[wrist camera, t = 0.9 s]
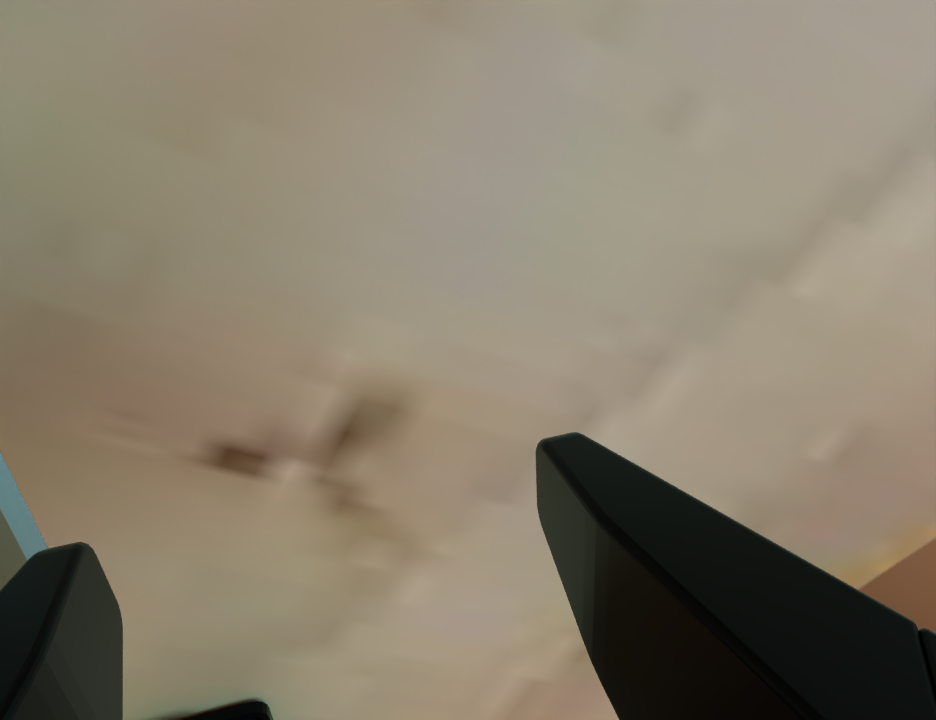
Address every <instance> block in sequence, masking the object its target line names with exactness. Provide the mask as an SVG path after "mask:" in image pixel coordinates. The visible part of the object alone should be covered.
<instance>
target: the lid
mask: <svg viewBox="0 0 936 720" xmlns="http://www.w3.org/2000/svg"><path fill="white" fill-rule="evenodd" d="M45 549H48V547H47V545H46V543H45V541H44V539H43V537H42V535H41V533H40V531H39V529H38V527H37V525H36V523H35V521H34V519H33V517H32V515H31V513H30V511H29V509H28V507H27V505H26V503H25V501H24V499H23V497H22V495H21V493H20V491H19V489H18V487H17V485H16V483H15V481H14V479H13V477H12V475H11V473H10V471H9V469H8V467H7V465H6V463H5V461H4V459H3V457H2V455H1V453H0V590H1V589H2V588H3V587H4V586H5V585H6V584H7V582H8V581H9V580H10V579H11V578H12V577H13V576H14V575H15V574H16V573H17V571H18V570H19V569H20V568H21V567H22V566H23V565H24V564H25V563H26V562H27V560H28V559H29V558H31V557H32V556H33V555H34V554H35V553H37V552H39V551H42V550H45Z"/></svg>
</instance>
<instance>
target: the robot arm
mask: <svg viewBox="0 0 936 720" xmlns="http://www.w3.org/2000/svg"><path fill="white" fill-rule="evenodd" d="M536 484H537V507H538V513H539V518H540V522H541V525H542V528H543V531H544V534H545V537H546V540H547V542H548V545H549V548H550V551H551V553H552V556H553V559H554V562H555V564H556V567H557V570H558V573H559V575H560V578H561V581H562V584H563V586H564V589H565V592H566V595H567V597H568V600H569V603H570V606H571V608H572V611H573V614H574V617H575V619H576V622H577V625H578V628H579V630H580V633H581V636H582V639H583V641H584V644H585V646H586V649H587V652H588V654H589V657H590V659H591V662H592V664H593V667H594V669H595V671H596V673H597V675H598V677H599V680H600V682H601V684H602V686H603V688H604V690H605V692H606V694H607V696H608V698H609V700H610V702H611V704H612V706H613V708H614V710H615V712H616V714H617V716H618V718H619V720H936V633H934V632H932V631H930V630H929V629H926V628H922V629H920V630H918V628H917V626H916V624H915V623H914V622H913V621H912V620H910V619H908V618H907V617H905V616H903V615H901V614H900V613H898V612H896V611H894V610H893V609H891V608H889V607H887V606H885V605H884V604H882V603H880V602H878V601H877V600H875V599H873V598H871V597H870V596H868V595H866V594H864V593H862V592H861V591H859V590H857V589H855V588H854V587H852V586H850V585H848V584H847V583H845V582H843V581H841V580H839V579H838V578H836V577H834V576H832V575H831V574H829V573H827V572H825V571H824V570H822V569H820V568H818V567H816V566H815V565H813V564H811V563H809V562H808V561H806V560H804V559H802V558H801V557H799V556H797V555H795V554H793V553H792V552H790V551H788V550H786V549H785V548H783V547H781V546H779V545H778V544H776V543H774V542H772V541H770V540H769V539H767V538H765V537H763V536H762V535H760V534H758V533H756V532H755V531H753V530H751V529H749V528H747V527H746V526H744V525H742V524H740V523H739V522H737V521H735V520H733V519H732V518H730V517H728V516H726V515H724V514H723V513H721V512H719V511H717V510H716V509H714V508H712V507H710V506H709V505H707V504H705V503H703V502H701V501H700V500H698V499H696V498H694V497H693V496H691V495H689V494H687V493H685V492H684V491H682V490H680V489H678V488H677V487H675V486H673V485H671V484H670V483H668V482H666V481H664V480H662V479H661V478H659V477H657V476H655V475H654V474H652V473H650V472H648V471H647V470H645V469H643V468H641V467H639V466H638V465H636V464H634V463H632V462H631V461H629V460H627V459H625V458H624V457H622V456H620V455H618V454H616V453H615V452H613V451H611V450H609V449H608V448H606V447H604V446H602V445H601V444H599V443H597V442H595V441H593V440H592V439H590V438H588V437H586V436H585V435H583V434H580V433H576V432H574V433H567V434H563V435H558V436H554V437H549V438H545V439H542V440H541V441H540V442H539V443H538V445H537V448H536ZM0 720H123V626H122V618H121V612H120V608H119V605H118V602H117V600H116V598H115V595H114V593H113V591H112V589H111V587H110V584H109V582H108V580H107V578H106V576H105V573H104V571H103V569H102V567H101V565H100V562H99V560H98V558H97V556H96V554H95V552H94V550H93V549H92V548H91V547H90V546H89V545H88V544H86V543H83V542H76V543H72V544H67V545H63V546H58V547H54V548H49V549H45V550H42V551H39V552H37V553H35V554H34V555H33V556H32V557H31V558H29V559H28V560H27V562H26V563H25V564H24V565H23V566H22V567H21V568H20V569H19V570H18V571H17V573H16V574H15V575H14V576H13V577H12V578H11V579H10V580H9V581H8V582H7V584H6V585H5V586H4V587H3V588H2V589H1V590H0ZM186 720H273V718H272V715H271V712H270V709H269V707H268V705H267V704H265V703H263V702H257V701H256V702H250V703H246V704H242V705H239V706H235V707H231V708H228V709H224V710H220V711H216V712H213V713H209V714H205V715H201V716H198V717H194V718H190V719H186Z"/></svg>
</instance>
